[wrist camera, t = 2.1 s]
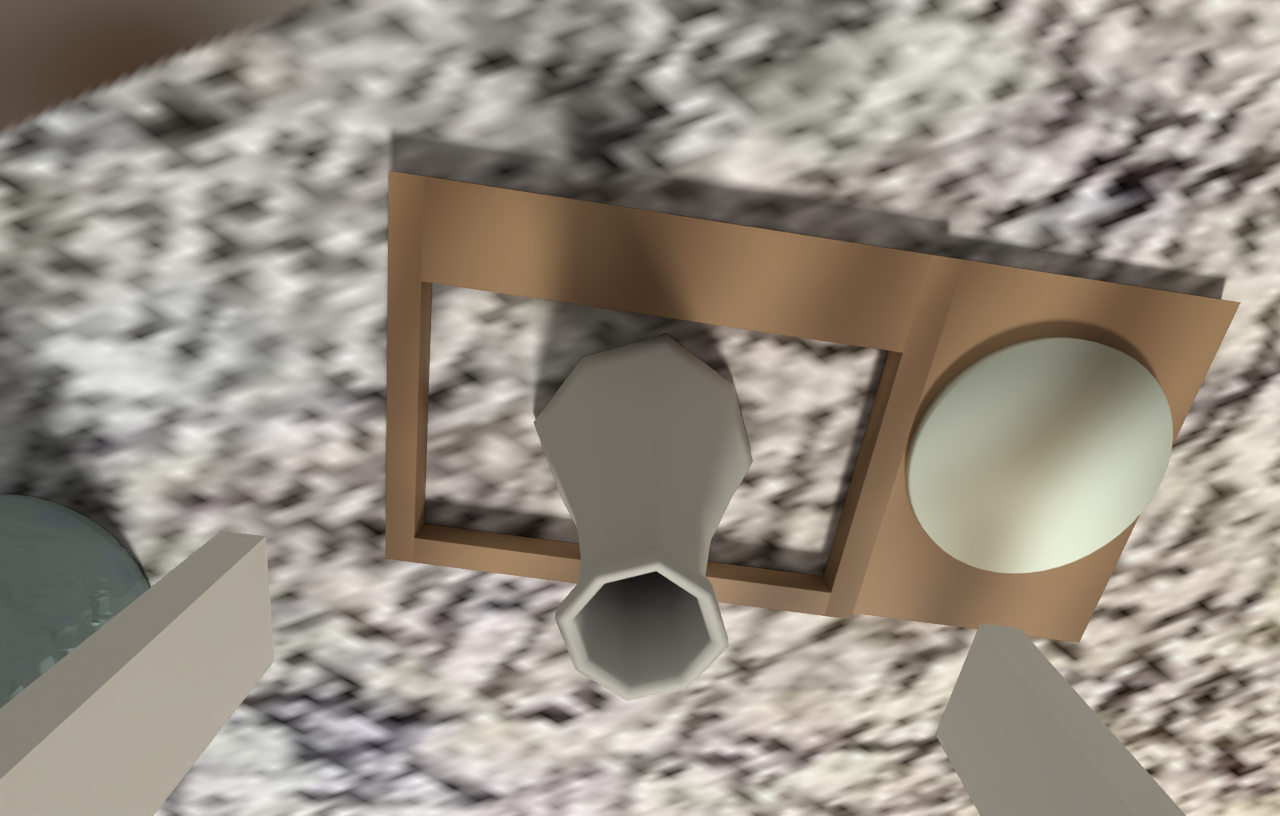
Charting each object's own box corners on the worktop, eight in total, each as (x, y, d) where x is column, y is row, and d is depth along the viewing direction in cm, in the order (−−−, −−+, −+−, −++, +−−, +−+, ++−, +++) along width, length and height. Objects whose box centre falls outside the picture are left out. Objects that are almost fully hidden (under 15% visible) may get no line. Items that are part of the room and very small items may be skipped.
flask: (673, 293, 19) (700, 381, 10) (786, 463, 21) (899, 674, 12) (498, 413, 21) (373, 591, 11) (619, 562, 23) (599, 822, 13)
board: (1222, 299, 19) (1256, 305, 18) (1068, 631, 23) (1088, 651, 22) (402, 172, 18) (387, 170, 17) (396, 543, 22) (384, 560, 21)
